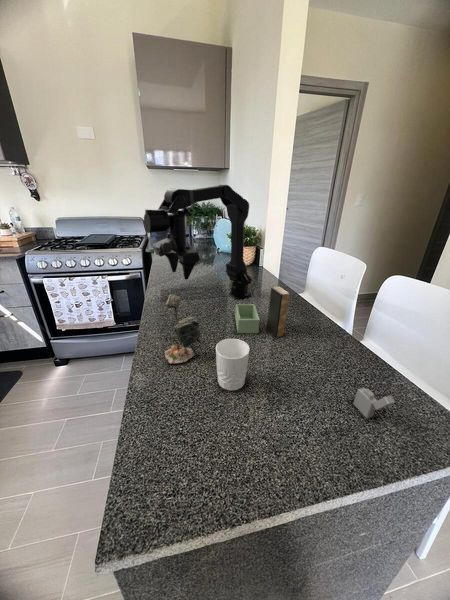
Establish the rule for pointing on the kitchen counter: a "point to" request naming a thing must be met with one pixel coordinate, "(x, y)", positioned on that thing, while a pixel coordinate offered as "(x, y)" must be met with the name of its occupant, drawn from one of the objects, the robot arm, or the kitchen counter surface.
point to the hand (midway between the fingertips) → (180, 275)
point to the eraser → (277, 311)
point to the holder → (247, 318)
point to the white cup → (232, 363)
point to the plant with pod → (182, 335)
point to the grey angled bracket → (370, 402)
